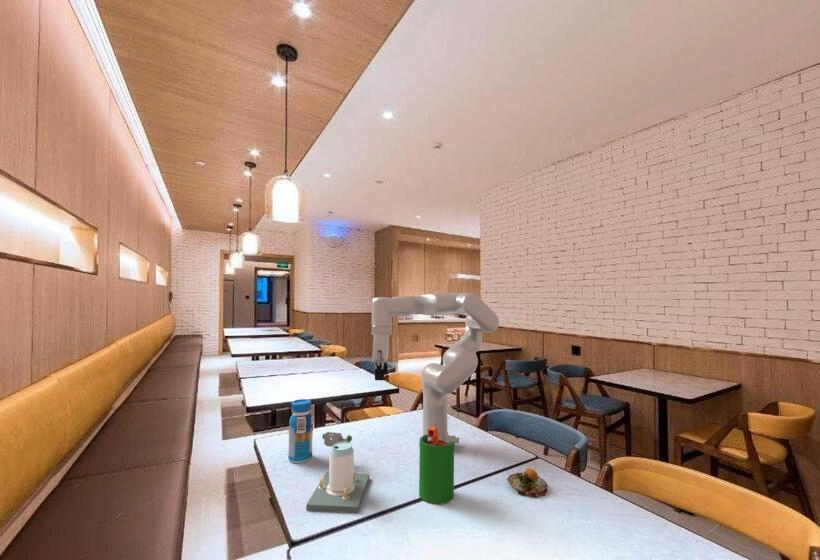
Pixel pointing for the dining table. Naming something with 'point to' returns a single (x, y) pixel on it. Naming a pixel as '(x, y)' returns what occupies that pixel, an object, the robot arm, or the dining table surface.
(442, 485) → the motor
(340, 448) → the can
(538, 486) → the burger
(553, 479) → the dining table surface
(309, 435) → the beverage bottle
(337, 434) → the mechanical component
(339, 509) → the pin board
